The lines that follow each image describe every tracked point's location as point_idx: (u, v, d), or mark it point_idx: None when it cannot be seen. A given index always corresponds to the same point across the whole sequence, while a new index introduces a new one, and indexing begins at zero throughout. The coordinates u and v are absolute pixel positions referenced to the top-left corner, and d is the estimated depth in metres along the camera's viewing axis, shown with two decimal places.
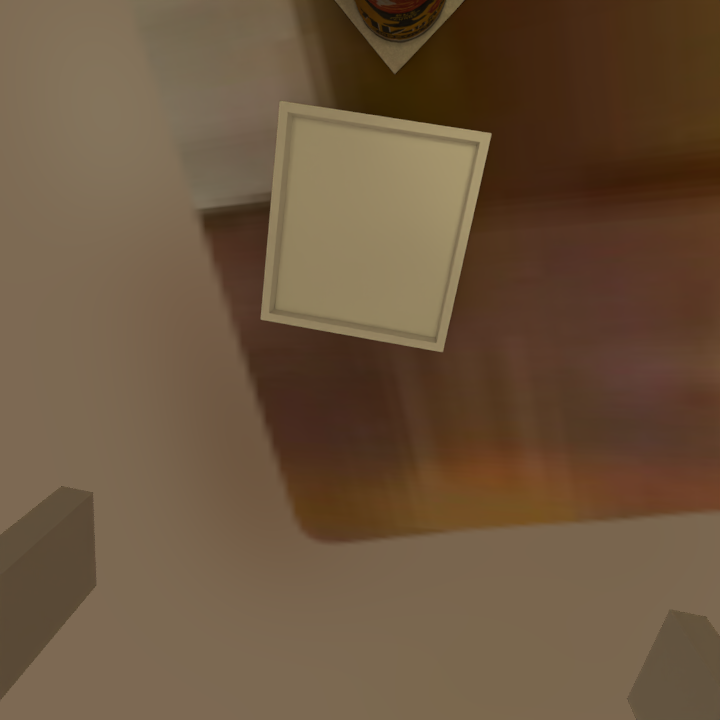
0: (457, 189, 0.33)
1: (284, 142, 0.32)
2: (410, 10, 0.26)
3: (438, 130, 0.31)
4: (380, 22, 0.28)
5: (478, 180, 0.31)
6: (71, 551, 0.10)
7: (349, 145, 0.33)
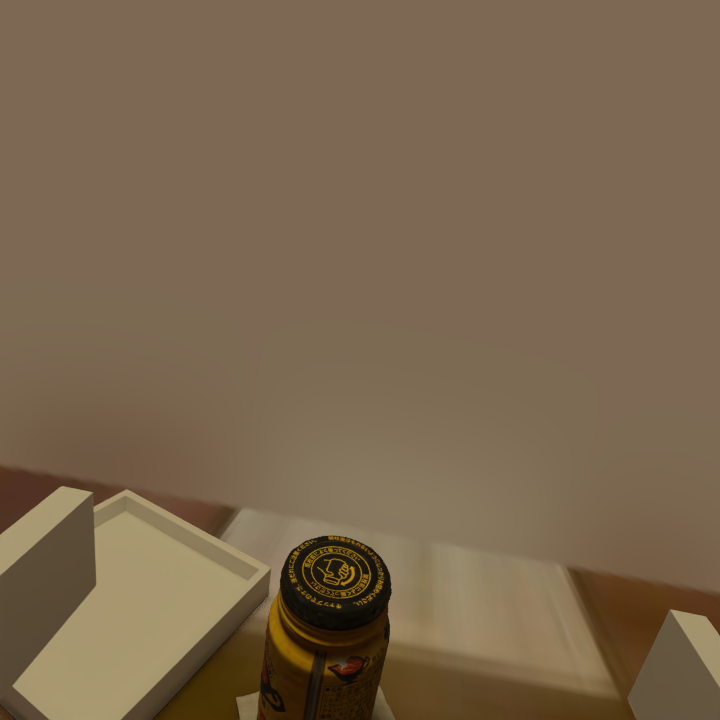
0: (66, 708, 0.25)
1: (239, 557, 0.34)
2: None
3: (143, 688, 0.25)
4: None
5: (51, 714, 0.23)
6: (71, 551, 0.10)
7: (202, 617, 0.31)
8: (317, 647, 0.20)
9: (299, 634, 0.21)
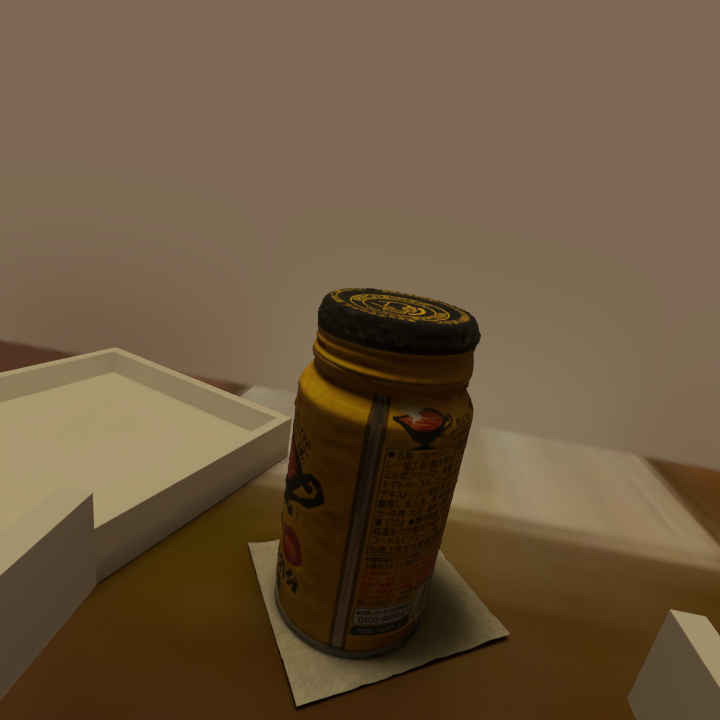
0: None
1: (251, 407, 0.27)
2: None
3: (122, 506, 0.18)
4: None
5: None
6: (71, 551, 0.10)
7: None
8: (377, 387, 0.13)
9: (348, 369, 0.14)
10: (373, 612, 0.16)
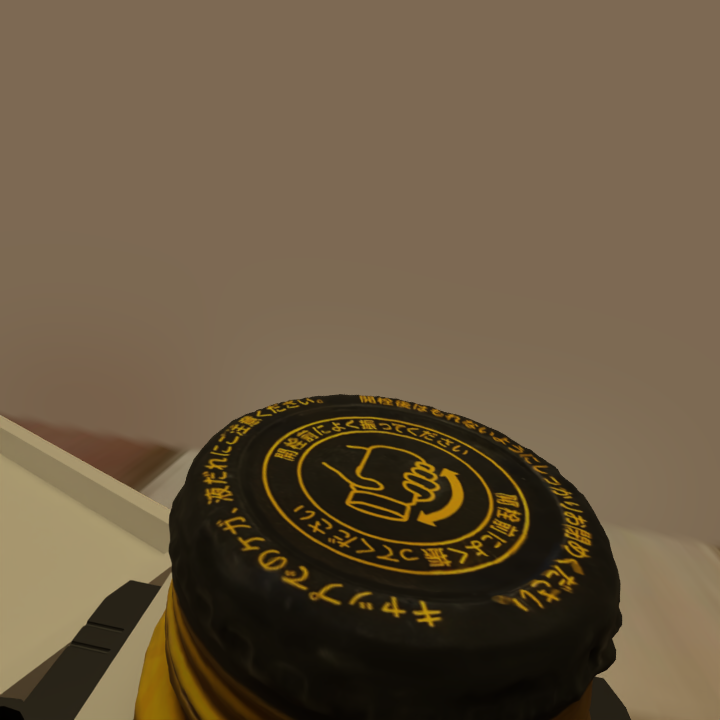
0: None
1: (154, 514, 0.18)
2: None
3: None
4: None
5: None
6: None
7: (54, 631, 0.15)
8: None
9: None
10: None
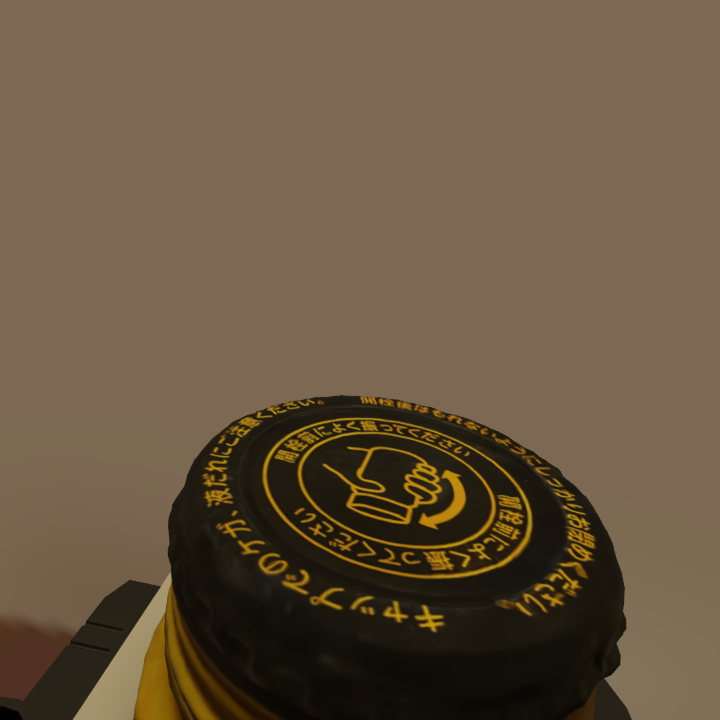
0: None
1: None
2: None
3: None
4: None
5: None
6: None
7: None
8: None
9: None
10: None
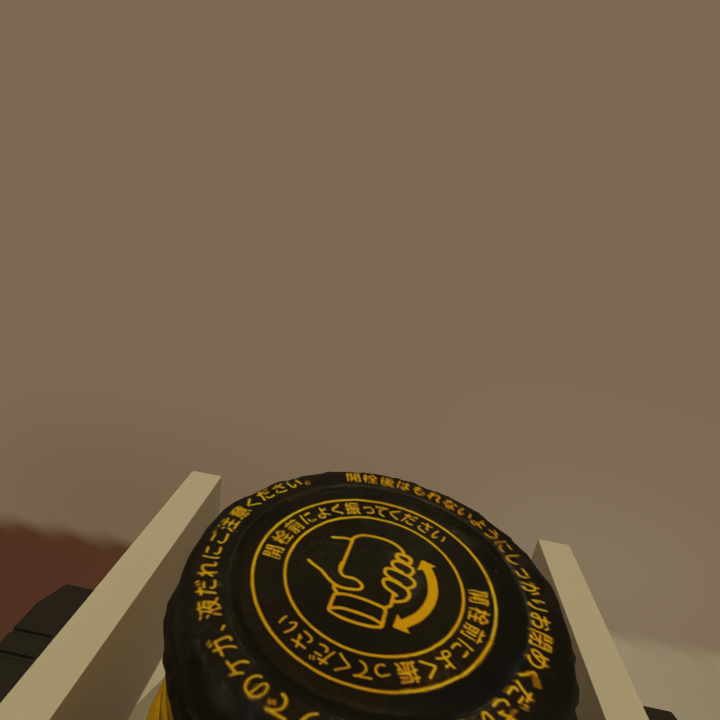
0: None
1: None
2: None
3: None
4: None
5: None
6: None
7: None
8: None
9: None
10: None
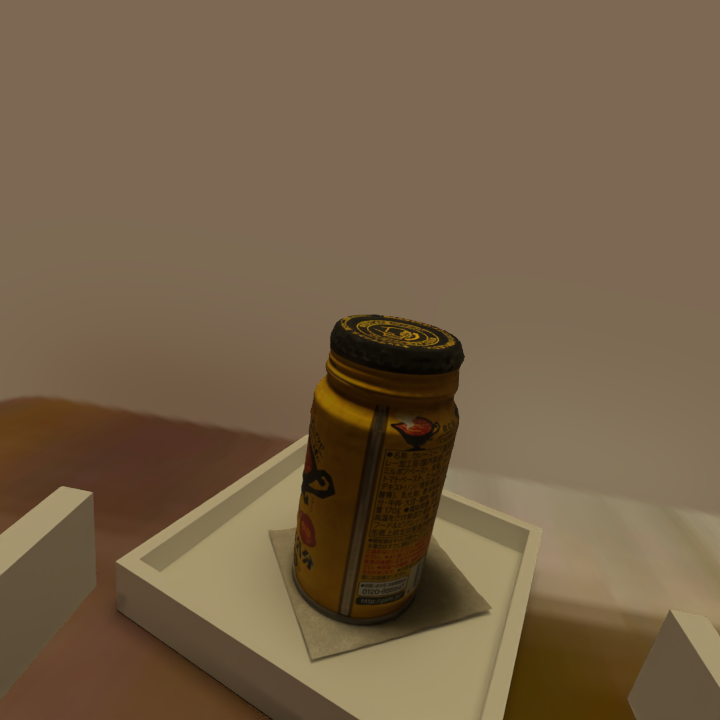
0: None
1: (495, 515, 0.26)
2: None
3: (498, 692, 0.16)
4: None
5: None
6: (71, 551, 0.10)
7: (481, 592, 0.22)
8: (377, 399, 0.17)
9: (355, 385, 0.17)
10: (375, 585, 0.19)
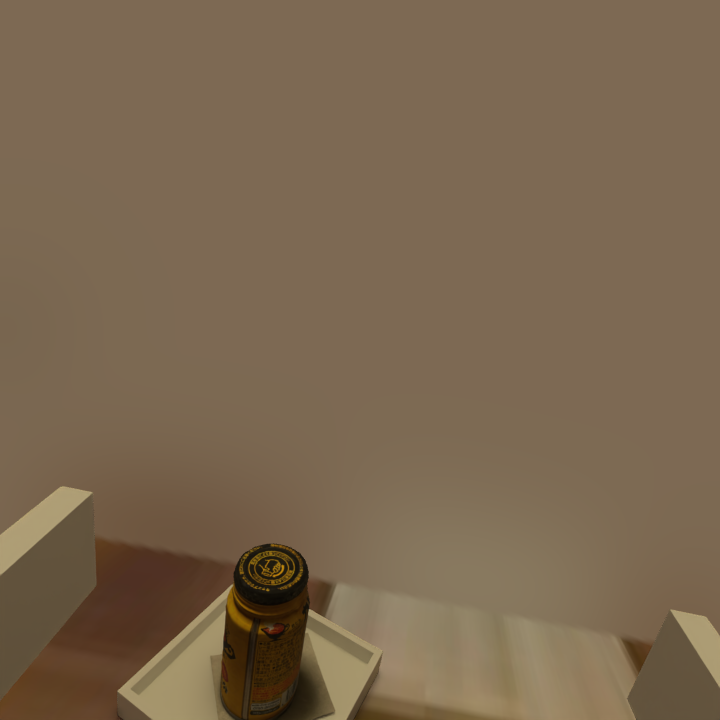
0: None
1: (354, 641, 0.41)
2: None
3: None
4: None
5: None
6: (71, 551, 0.10)
7: (334, 698, 0.37)
8: (254, 616, 0.32)
9: (243, 607, 0.32)
10: (260, 705, 0.34)
